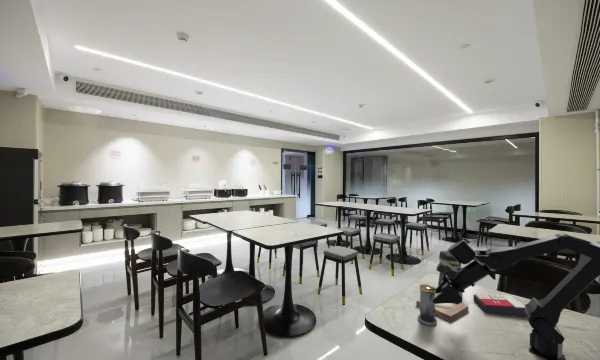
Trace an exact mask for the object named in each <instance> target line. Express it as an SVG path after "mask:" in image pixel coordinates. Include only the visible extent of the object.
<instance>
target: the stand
mask: <svg viewBox="0 0 600 360" xmlns="http://www.w3.org/2000/svg"><path fill="white" fill-rule="evenodd" d="M439 294H440V293H437V294H436V293H435V298H436V297H437V296H438V295H439ZM415 304H416V307H419V308H420V298H419V299H417V300H416V303H415ZM467 312H469V305H467V304H464V303H463V302H462V303H460V304H458V305H457V304H454V303H441V304H435V316H438V317H439V318H440V317H441V318H442V319H444V320H446V321H448V322H452V321H453V320H455V319H457V318H459V317H461V316H462V315H464V314H466V313H467Z"/></svg>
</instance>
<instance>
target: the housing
mask: <svg viewBox="0 0 600 360" xmlns="http://www.w3.org/2000/svg"><path fill="white" fill-rule="evenodd" d="M436 288H437V287H435V286H434V285H431V284H428V283H427V284H423V283H422V284H419V291H420V292H419V293H420V294H419V299H420V307H419V314H418V316H417V321H418V322H419V323H420V324H422V325H424V326H427V327H436V326H437V324H438V321H437V318H436V317H435V316H436V314H435V304H434V303H433V302H432V301H433V300H434V299H435V292H436Z"/></svg>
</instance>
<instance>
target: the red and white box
mask: <svg viewBox="0 0 600 360" xmlns="http://www.w3.org/2000/svg"><path fill="white" fill-rule="evenodd" d="M473 302H474V303H476V304H477V306H478V307H479V308H480V309H481V310H482V311H483V312H484V313H485V314H491V315H492V314H493V315H500V316H501V315H502V316H515V317H521V318H526V315H525V312H524V310H525V308H526V307H525V304H522V303H521V302H520V301H519V300H518V299H517V298H514V296H512V295H505V294H503V295H501V294H489V293H488V294H486V293H475V294H473Z"/></svg>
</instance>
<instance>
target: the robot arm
mask: <svg viewBox="0 0 600 360" xmlns="http://www.w3.org/2000/svg"><path fill="white" fill-rule="evenodd" d="M563 250H570V251H572V252H575V253H578V254H580V256H579V259H578V263H577V265H576V266H575V267H574V268H573V269H572V270H570V272H569V273H568V274H567V275H566V276H565V277H564V278H562V280H561V281H560V282H559V283H558V284H557V285H556V286H554V288H553V289H552V290H551V291H550V292H549V293H548V294H547V295H546V296H545V297H544V298H541V299H536V298H535V297H531V299H530V300H529V302H527V303H525V304H524V306H525V307H526V308H525V310H524V312H525V315H526V317H525V318H526V320H527V322H528V323H529V325H530V327H531V328H532V329H531V333H529V348H528V351H529V352H531V353H534V354H536V355H537V356H539V357H541V358H543V359H545V360H563V359H565V358H566V355H564V354H563V349H564V348H563V347H564V346H563V343H564V341H565V336H564V334H562V332H561V330H560V328H558V325H557V324H558V323H559V321H560V317H561V313H562V311H563V310H564V309H566V308H567V307H568V306H569V305H570V303H572V302H573V301H574V300H575V299H576V298H577V297H579V295H580V294H581V293H582V292H583V291H584V290H586V288H588V286H589V285H590V284H591V283H593V282H594V281H595V280H596V279H597V278H598V277H600V241H588V240H586V239H582V238H578V237H576V236H571V235H569V234H567V233H564V232H559V233H556V234H554V235H550V236H547V237H544V238H540V239H537V240H536V239H535V240H532V241H530V242H525V243H521V244H518V245H513V246H498V247H497V246H496V247H490V248H487V249H486V250H485V249H484V250H482V249H480V250H479V249H473V248H472V247H471V246H470V245H469V244H468V243H467V241H466V240H464V239H461V241H457V242H455V243H453V244H452V245H451V246H450V247H449V248H447V250H446V251H448V252H449V253H450V254H451V255H452V256H453V257H454V258H455V259H456V260H457V261H458V262H459V263H460V264H461V263H462V264H463V265H465V266H463V267H462V266H461V267H459V268H457V269H456V268H455V267H453V266H452V265H450V264H448V263H446V262H445V261H443V260H441V261H440V260H439V262H438V264H437V266H436V271H437V272H439V273H440V272H441V273H443V274H444V275H443V281H442V282H441V284H440V285H439V286H437V287H435V288H436V292H435V293H436V294H439V295H438V296H437V297H436V298H435V299H434V300H433V301H432V302H433V303H434V304H441V303H454V304H457V305H458V304H460V303H462V304H463V294H464V293H466V291H465V290H466V289H468V288H470V287H475V286H476V283H477V282H479V281H481V280H483V279H484V278H486V277H487V276H489V277H491V279H492V280H493V281H494V280H496V274H497V271H501V270H503V269H507V268H509V267H511V266H513V265H515V264H516V263H518V262H520V261H523V260H526V259H529V258H530V259H531V258H533V257H537V256H542V255H546V254H550V253H551V254H552V253H555V252H559V251H563ZM462 264H461V265H462ZM459 290H460V291H461V292H460V291H459Z"/></svg>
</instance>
